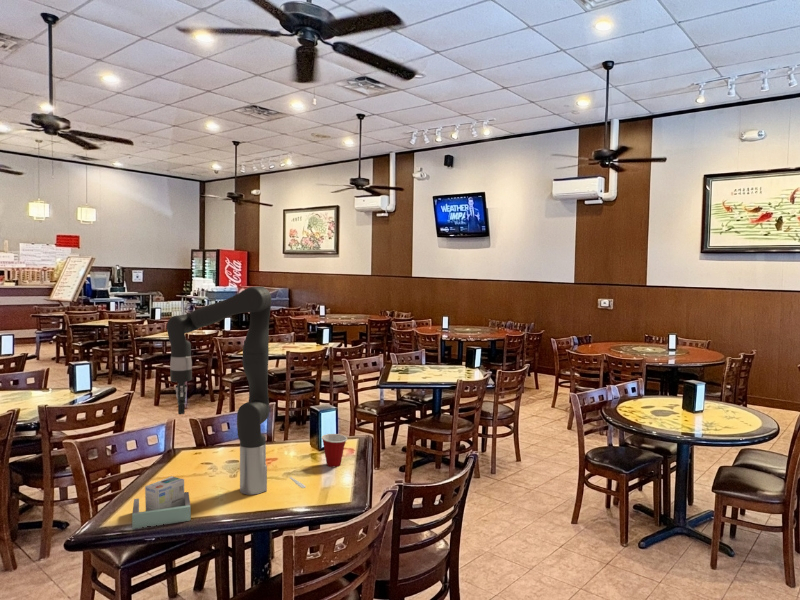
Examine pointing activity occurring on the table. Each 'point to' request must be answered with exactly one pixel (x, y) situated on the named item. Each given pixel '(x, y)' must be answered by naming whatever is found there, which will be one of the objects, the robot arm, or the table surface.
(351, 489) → the table surface
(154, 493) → the light bulb box
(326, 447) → the plastic cup
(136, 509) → the cradle
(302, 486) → the butter knife
